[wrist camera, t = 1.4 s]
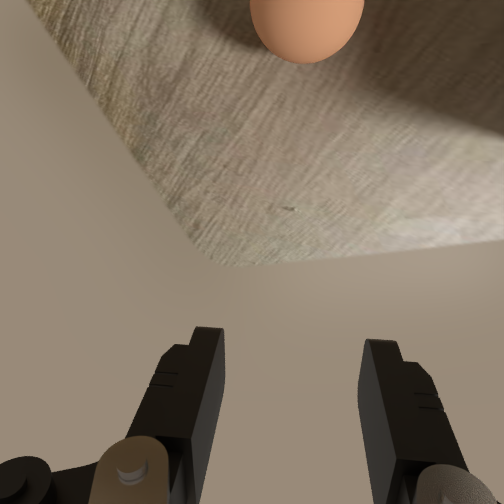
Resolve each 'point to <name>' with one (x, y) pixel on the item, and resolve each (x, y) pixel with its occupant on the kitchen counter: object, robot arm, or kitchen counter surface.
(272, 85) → the kitchen counter surface
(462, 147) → the kitchen counter surface
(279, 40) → the orange sphere
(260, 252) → the kitchen counter surface
